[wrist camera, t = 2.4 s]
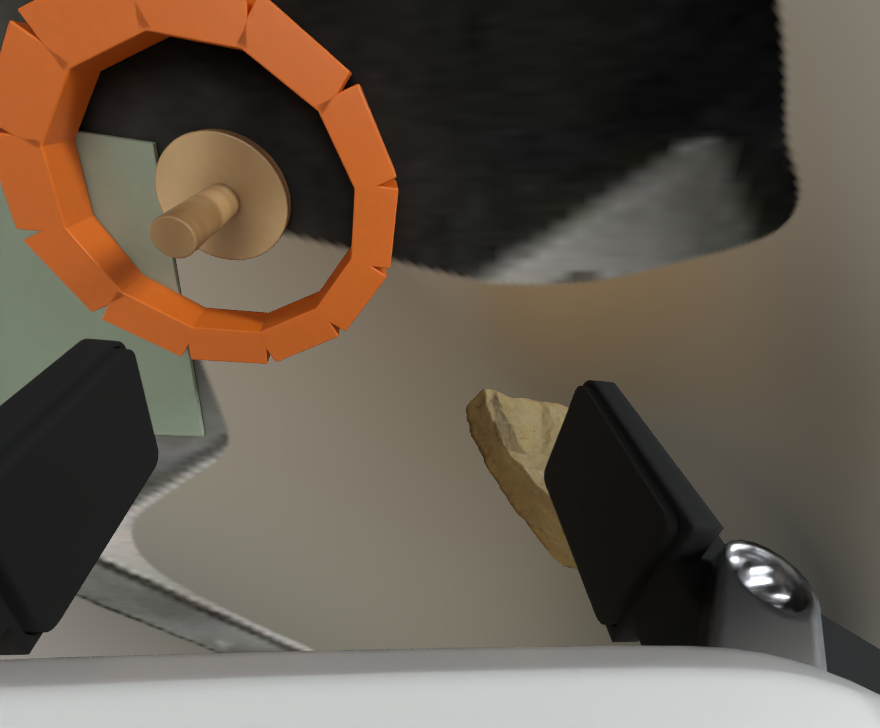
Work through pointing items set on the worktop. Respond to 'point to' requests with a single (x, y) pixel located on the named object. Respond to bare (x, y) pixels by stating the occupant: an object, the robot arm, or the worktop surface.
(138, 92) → the worktop surface
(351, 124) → the ring
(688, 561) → the robot arm
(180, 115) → the worktop surface
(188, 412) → the mat
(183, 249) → the wooden peg disc
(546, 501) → the rock
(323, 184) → the worktop surface
